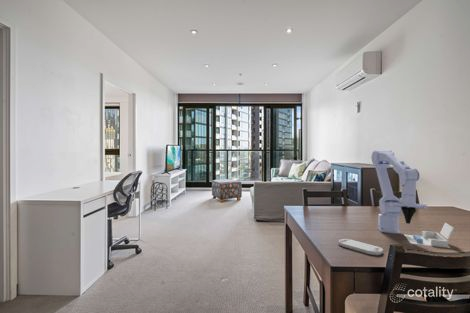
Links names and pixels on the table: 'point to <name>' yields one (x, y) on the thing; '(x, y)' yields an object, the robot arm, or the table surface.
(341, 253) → the table surface
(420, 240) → the pale blue rectangular prism
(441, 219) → the table surface
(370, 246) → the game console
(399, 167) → the robot arm
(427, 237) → the white storage tray
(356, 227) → the table surface
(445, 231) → the cover
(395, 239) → the table surface
